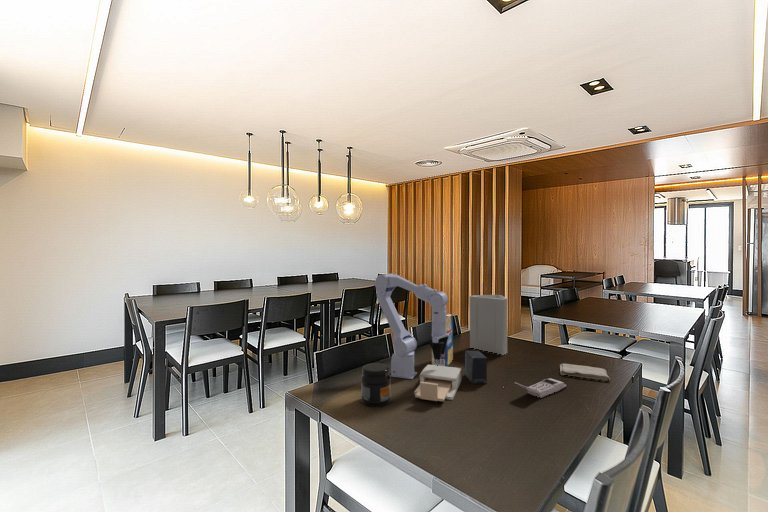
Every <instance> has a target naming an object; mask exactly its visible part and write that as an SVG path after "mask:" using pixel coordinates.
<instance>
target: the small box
mask: <svg viewBox="0 0 768 512" xmlns="http://www.w3.org/2000/svg"><path fill="white" fill-rule="evenodd" d="M487 368H488V358H487V357H486V356H485V355H484V354H483V353H482V351H479V350H464V376H465V377H466V378H467V380H468V382H470V383H471V384H472V385H474V384H475V385H476V384H478V385H479V384H482V385H483V384H484V385H485V384H487V382H488V381H487V379H488V377H487V375H488V373H487V372H488V371H487V370H488V369H487Z"/></svg>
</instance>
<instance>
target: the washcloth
mask: <svg viewBox="0 0 768 512" xmlns="http://www.w3.org/2000/svg"><path fill="white" fill-rule="evenodd" d="M559 369H560V370H559V372H560V376H564V375H568V376H567V377H570V376H577V377H586V378H593V379H602V380H609V381H610V380H611V379H610V376H609V375H608V372H607V370H606V369H605V368H601V367H593V366H590V365H589V366H588V365H579V364H572V363H561V364H559Z"/></svg>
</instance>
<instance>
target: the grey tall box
mask: <svg viewBox="0 0 768 512" xmlns="http://www.w3.org/2000/svg"><path fill="white" fill-rule="evenodd" d="M470 348H474V349H473V350H475V349H479V350H483V351H482V352H484V351H488V352H487V353H489V352H493V353H492V354H494V353H497V354H496V355H499V354H501V355H500V356H505V355H507V354H508V298H507V297H505V296H504V295H501V294H478V295H475V294H474V295H470V296H469V349H470ZM479 350H478V351H479ZM506 353H507V354H506ZM504 354H505V355H504Z"/></svg>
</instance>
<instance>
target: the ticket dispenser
mask: <svg viewBox="0 0 768 512" xmlns="http://www.w3.org/2000/svg"><path fill="white" fill-rule="evenodd" d="M462 373H463V372H462V367H455V366H447V367H446V366H437V365H432V364H427V365H426V366H425V367H424V368H423V369H422V371H421V372H420V374H418V376H419V383H420V382H425V381H426V380H435V381H443V382H451V383H452V386H451V388H450V390H449V392H448V394H447V396H446V398H445V400H449V401H453V400H454V398H455V395H456V393H457V391H458V388H459V387H460V385H461V382H462V380H463V379H462ZM419 389H420V384H419V385H418V386H417V388H416V389H415V390H414V392H413V395H414V396H415V395H416V393H417V392H418V391H419Z"/></svg>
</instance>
